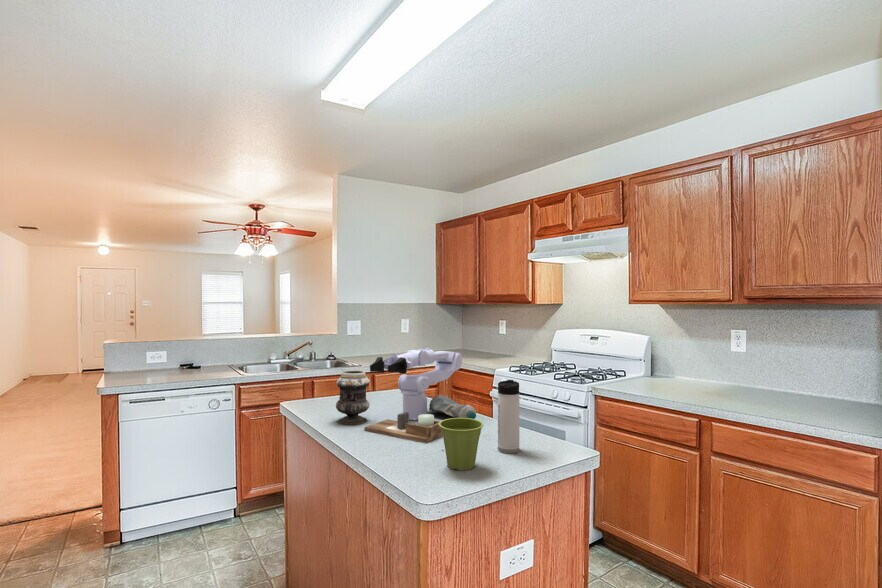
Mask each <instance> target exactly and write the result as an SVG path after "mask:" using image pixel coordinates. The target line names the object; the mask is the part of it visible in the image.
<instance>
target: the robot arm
mask: <svg viewBox="0 0 882 588" xmlns="http://www.w3.org/2000/svg"><path fill="white" fill-rule="evenodd" d="M434 362H435V366H434V369H432V370H429V371H426V372H422V373H419V374H409V375H408V374H406V373H407V372H408V371H407V370H409V369H412V368H413V367H417V366H419V367H425V366H426V365H431V364H434ZM462 363H463V357H462V354H461V353H460V352H456V351H449V350H436V351H434V350H433V349H431V347H425V349H423V348H419V349H415V350H414V349H409V350H408V351H407V352H404V353H401V354H398V353H397V352H392V353H391V356H389V357H387V358H385V359H384V358H383V356H378V357H377V358H376V360H375V361H374V362H372V363H371V364H370V365H369V372H371V373H372V372H375V373H376V372H377V373H380V374H381V373H382V374H384V373H385V370H387V372H388V373H392V374H393V373H394V374H397V373H398V374H401V375H400V376H399V377H398V381H397V386H398V389H399V391H400V393H401V394H402V413H404V412H407V413H409V421H418V416H419V415H421V414H428V397H427V394H426V393H425V391H426V390H427V389H429V387H430V386H431V385H434V384H436V383H440V382H443V381H446V380H448V379H449V378H450V377H451V376H452V375H453V374H454V373H455V371H458V370H460V369H461V368H462V367H461V366H462Z"/></svg>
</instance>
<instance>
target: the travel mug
mask: <svg viewBox="0 0 882 588" xmlns="http://www.w3.org/2000/svg"><path fill="white" fill-rule="evenodd" d="M497 389H498V390H497V450H498V452H499V453H500V452H501V453H503V454H517V453H518V452H519V451H520V383H519V382H518V381H516V380H514V379H507V380H502V381H499V382H498V383H497Z"/></svg>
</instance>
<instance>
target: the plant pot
mask: <svg viewBox="0 0 882 588" xmlns="http://www.w3.org/2000/svg"><path fill="white" fill-rule="evenodd" d="M439 421H440V422H439V426H440V427H441V431H442V435H443V436H442V439H443V444H444V451H445V458H446V463H447V466H448V468H449V469H451V470H455V469H456V470H458V471H469V470H471V469H473V468H474V467H475V466H476V460H477V459H476V458H477V452H478V447H479V441H480V436H481V434H482V428H483V427H484V426H485V425H484V422H483V421H481V420H479V419H476V418H475V419H470V418H459V417H451V418H450V417H449V418H446V419H443V420H439Z"/></svg>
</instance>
